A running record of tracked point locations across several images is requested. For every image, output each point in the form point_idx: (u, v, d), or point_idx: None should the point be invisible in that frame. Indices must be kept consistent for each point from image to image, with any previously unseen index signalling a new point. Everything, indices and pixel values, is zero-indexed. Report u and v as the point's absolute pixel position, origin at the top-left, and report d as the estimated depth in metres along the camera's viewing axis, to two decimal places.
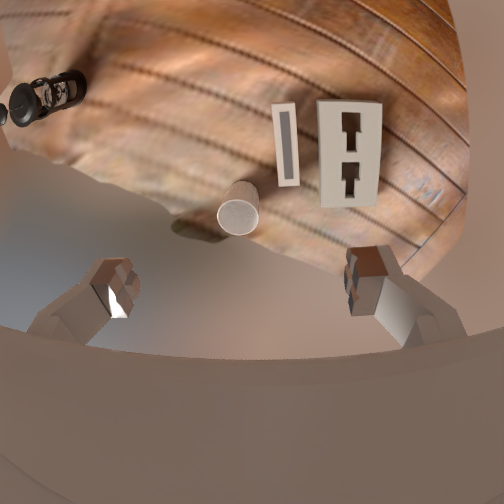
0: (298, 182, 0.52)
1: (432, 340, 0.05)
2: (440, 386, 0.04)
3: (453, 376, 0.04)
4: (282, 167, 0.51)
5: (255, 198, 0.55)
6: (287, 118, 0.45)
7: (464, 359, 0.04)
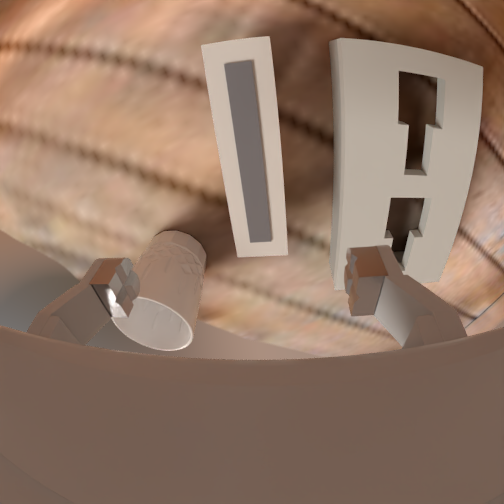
0: (284, 248, 0.22)
1: (432, 340, 0.05)
2: (440, 386, 0.04)
3: (453, 376, 0.04)
4: (243, 213, 0.20)
5: (188, 279, 0.25)
6: (249, 80, 0.14)
7: (464, 359, 0.04)
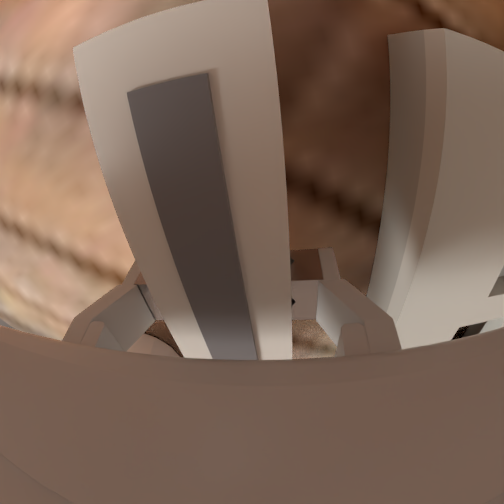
0: None
1: (355, 351, 0.06)
2: (440, 386, 0.04)
3: (453, 376, 0.04)
4: None
5: None
6: (202, 137, 0.05)
7: (464, 359, 0.04)
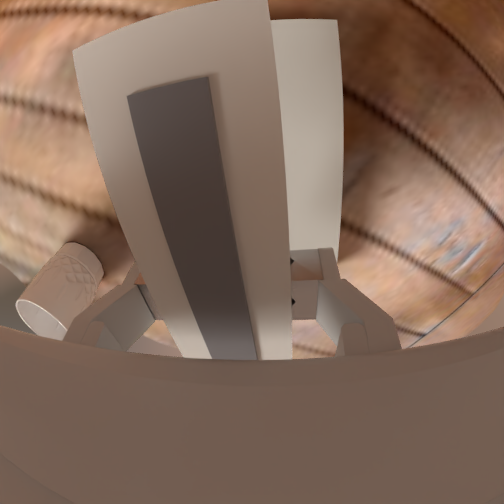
0: None
1: (355, 351, 0.06)
2: (440, 386, 0.04)
3: (453, 376, 0.04)
4: None
5: (70, 287, 0.24)
6: (202, 141, 0.05)
7: (464, 359, 0.04)
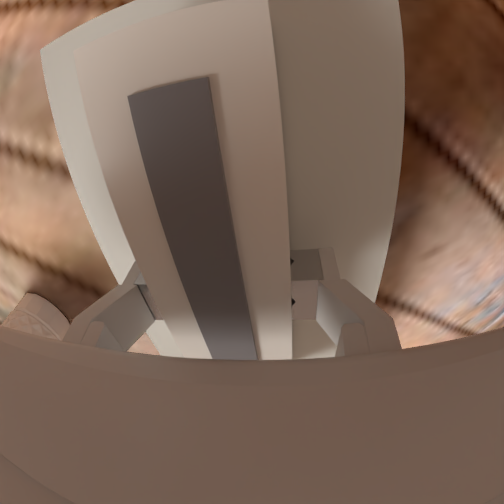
0: None
1: (355, 351, 0.06)
2: (440, 386, 0.04)
3: (453, 376, 0.04)
4: None
5: None
6: (203, 141, 0.05)
7: (464, 359, 0.04)
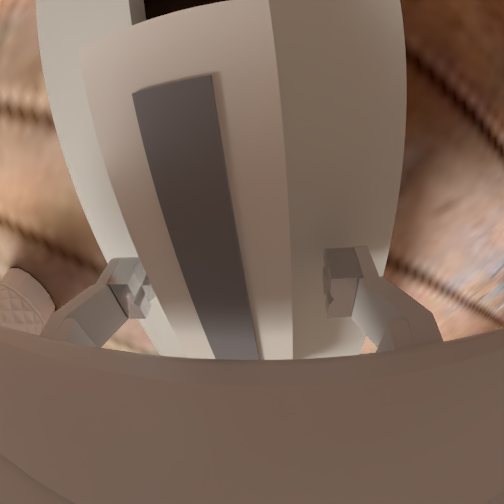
0: None
1: (403, 345, 0.06)
2: (440, 386, 0.04)
3: (453, 376, 0.04)
4: None
5: None
6: (205, 137, 0.05)
7: (464, 359, 0.04)
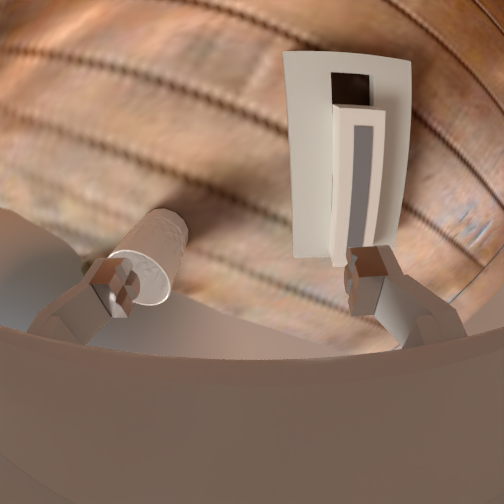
0: None
1: (432, 340, 0.05)
2: (440, 386, 0.04)
3: (453, 376, 0.04)
4: (345, 234, 0.26)
5: (170, 243, 0.30)
6: (369, 140, 0.21)
7: (464, 359, 0.04)
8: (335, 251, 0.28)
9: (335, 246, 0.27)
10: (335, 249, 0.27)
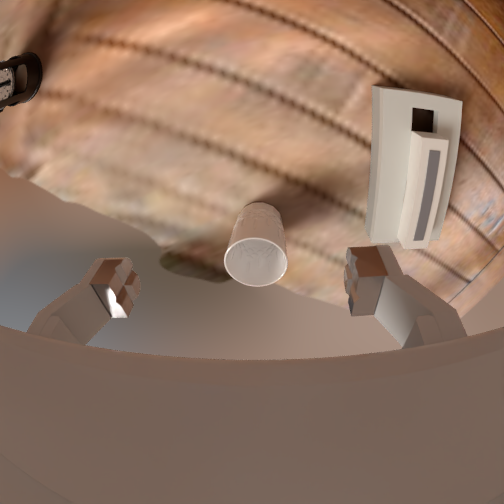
0: (427, 244, 0.34)
1: (432, 340, 0.05)
2: (440, 386, 0.04)
3: (453, 376, 0.04)
4: (415, 225, 0.33)
5: (281, 232, 0.37)
6: (437, 160, 0.27)
7: (464, 359, 0.04)
8: (407, 237, 0.34)
9: (407, 233, 0.34)
10: (407, 236, 0.34)
